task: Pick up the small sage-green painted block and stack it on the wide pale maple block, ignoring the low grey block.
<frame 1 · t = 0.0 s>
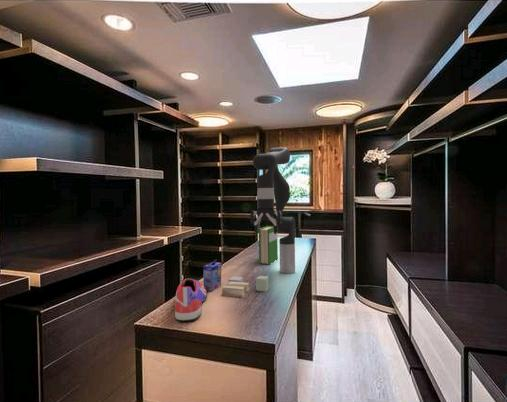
hand: (266, 233, 132), 29 cm above the table, fingers open, 8 cm apart
sage block: (262, 289, 143), on the table
soccer shoe: (190, 305, 125), on the table
maple block: (236, 293, 139), on the table
ink cartridge box: (212, 288, 147), on the table
grey block: (236, 285, 150), on the table
hardback book: (268, 262, 202), on the table
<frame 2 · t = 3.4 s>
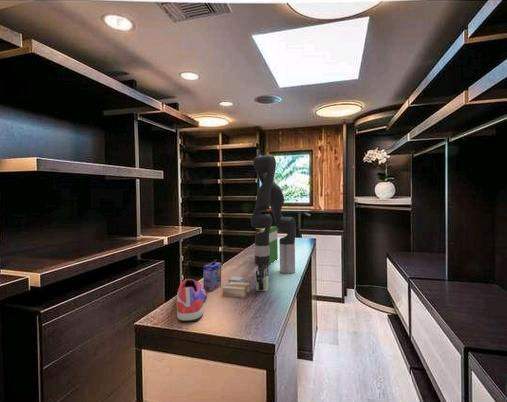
hand: (262, 288, 143), 1 cm above the table, fingers closed on sage block, 5 cm apart
sage block: (262, 289, 143), on the table, touching gripper
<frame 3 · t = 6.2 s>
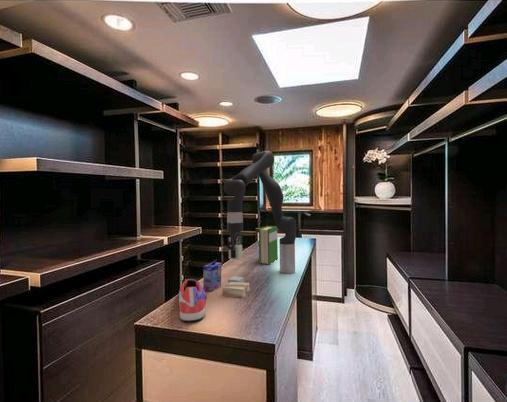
hand: (235, 256, 139), 17 cm above the table, fingers closed on sage block, 5 cm apart
sage block: (235, 258, 139), point 17 cm above the table, touching gripper
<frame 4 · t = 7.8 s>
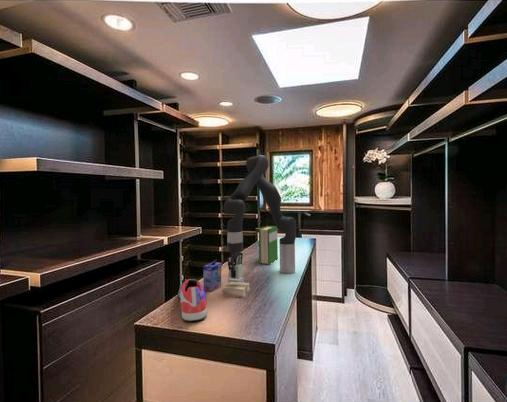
hand: (235, 276, 139), 8 cm above the table, fingers closed on sage block, 5 cm apart
sage block: (235, 277, 139), point 7 cm above the table, touching gripper
when the fingers open (6 cm above the table, at t = 9.2 s): sage block drops 1 cm, point 4 cm above the table.
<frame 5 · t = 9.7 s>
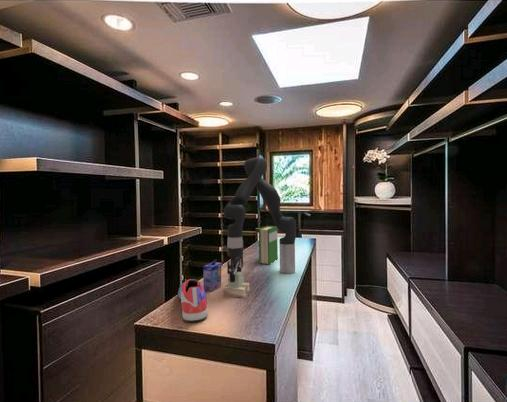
hand: (235, 279, 139), 6 cm above the table, fingers open, 8 cm apart
sage block: (235, 285, 139), point 4 cm above the table
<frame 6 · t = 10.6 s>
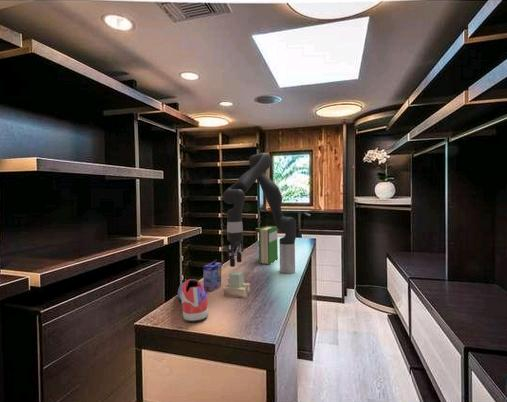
hand: (236, 264, 139), 14 cm above the table, fingers open, 8 cm apart
sage block: (236, 285, 139), point 4 cm above the table, touching maple block
maple block: (237, 294, 139), on the table, touching sage block
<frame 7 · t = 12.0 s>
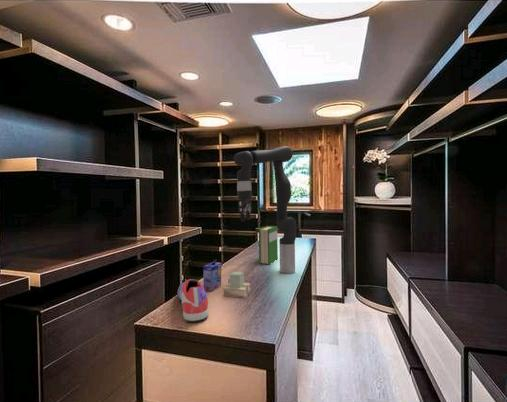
hand: (245, 220, 152), 33 cm above the table, fingers open, 8 cm apart
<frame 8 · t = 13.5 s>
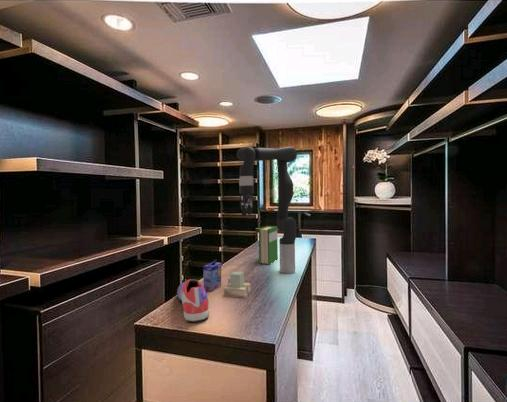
hand: (246, 215, 155), 36 cm above the table, fingers open, 8 cm apart
sage block: (237, 285, 139), point 4 cm above the table
maple block: (237, 294, 139), on the table
at the end: sage block inside the target area on the maple block (0.4 cm from its centre), point 4.0 cm above the maple block's base; sage block tilted 0°; the gripper is holding nothing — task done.
